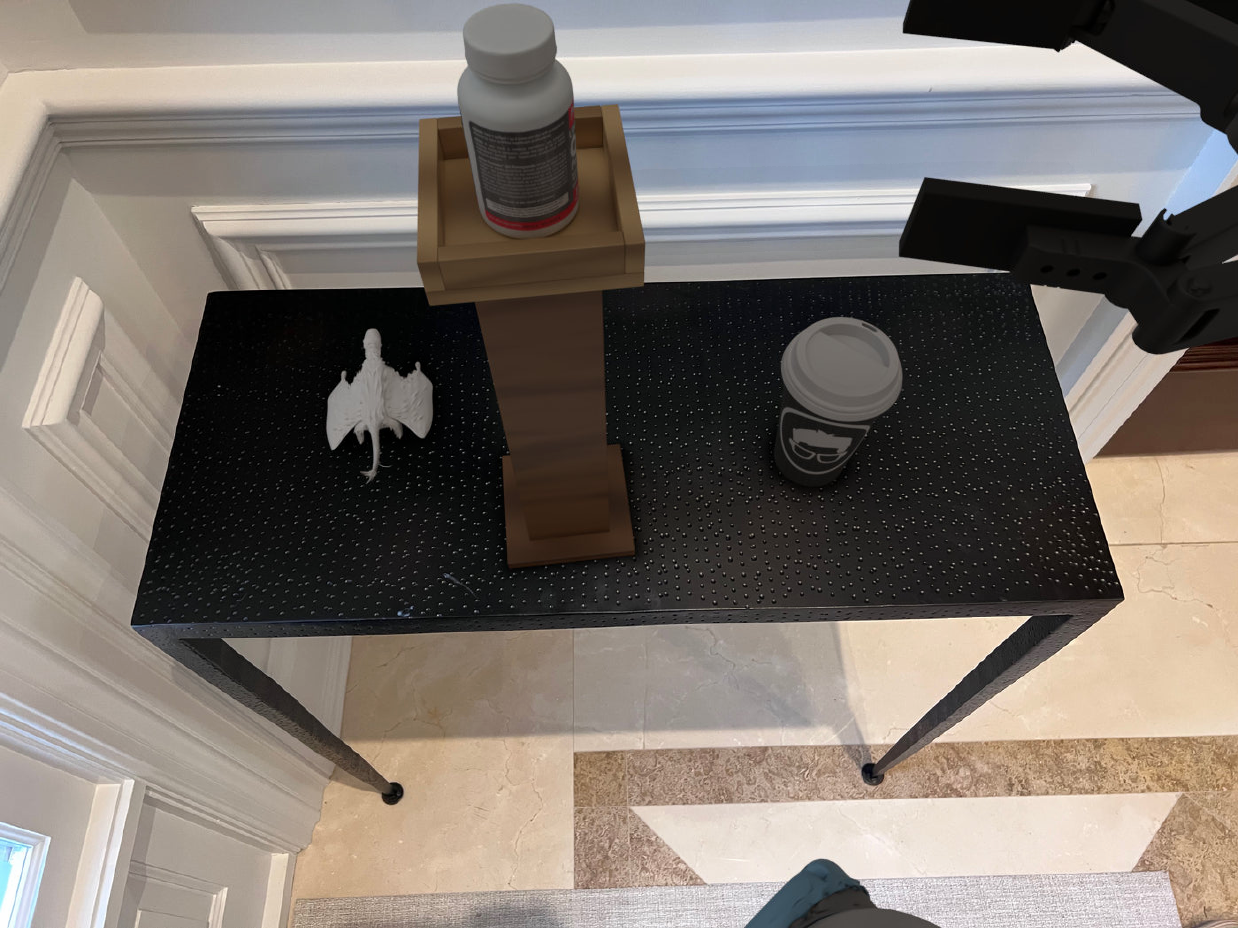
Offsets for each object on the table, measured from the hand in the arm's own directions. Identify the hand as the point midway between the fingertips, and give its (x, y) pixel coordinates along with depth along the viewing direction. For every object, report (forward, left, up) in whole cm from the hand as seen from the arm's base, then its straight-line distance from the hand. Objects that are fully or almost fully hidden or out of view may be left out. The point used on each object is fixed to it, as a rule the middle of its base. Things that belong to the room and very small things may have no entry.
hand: (910, 94), depth 29 cm
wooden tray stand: (+8, +15, -45) cm, 48 cm away
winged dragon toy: (+20, +32, -45) cm, 59 cm away
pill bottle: (+8, +15, -11) cm, 20 cm away
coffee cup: (+11, -8, -45) cm, 47 cm away
